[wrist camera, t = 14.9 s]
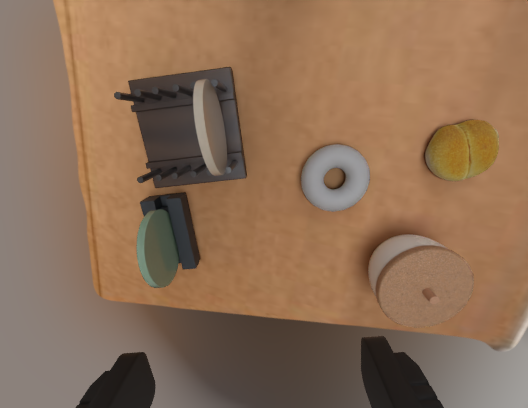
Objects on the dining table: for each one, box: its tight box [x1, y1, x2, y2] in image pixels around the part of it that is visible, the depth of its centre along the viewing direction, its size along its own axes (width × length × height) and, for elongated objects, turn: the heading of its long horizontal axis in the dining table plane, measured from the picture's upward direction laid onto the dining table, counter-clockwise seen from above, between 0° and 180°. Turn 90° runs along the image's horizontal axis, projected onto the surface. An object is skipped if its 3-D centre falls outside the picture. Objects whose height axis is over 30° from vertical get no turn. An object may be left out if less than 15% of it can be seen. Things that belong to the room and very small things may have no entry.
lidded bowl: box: [368, 234, 474, 328], centre depth 39 cm, size 13×13×11 cm
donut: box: [301, 144, 370, 212], centre depth 38 cm, size 10×4×10 cm
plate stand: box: [140, 193, 200, 269], centre depth 42 cm, size 12×6×3 cm, turn 7°
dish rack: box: [114, 67, 247, 188], centre depth 35 cm, size 15×14×8 cm
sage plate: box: [137, 209, 179, 288], centre depth 37 cm, size 11×1×11 cm, turn 7°
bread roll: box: [425, 120, 499, 181], centre depth 36 cm, size 8×9×4 cm
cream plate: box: [193, 79, 227, 176], centre depth 31 cm, size 11×1×11 cm, turn 7°
